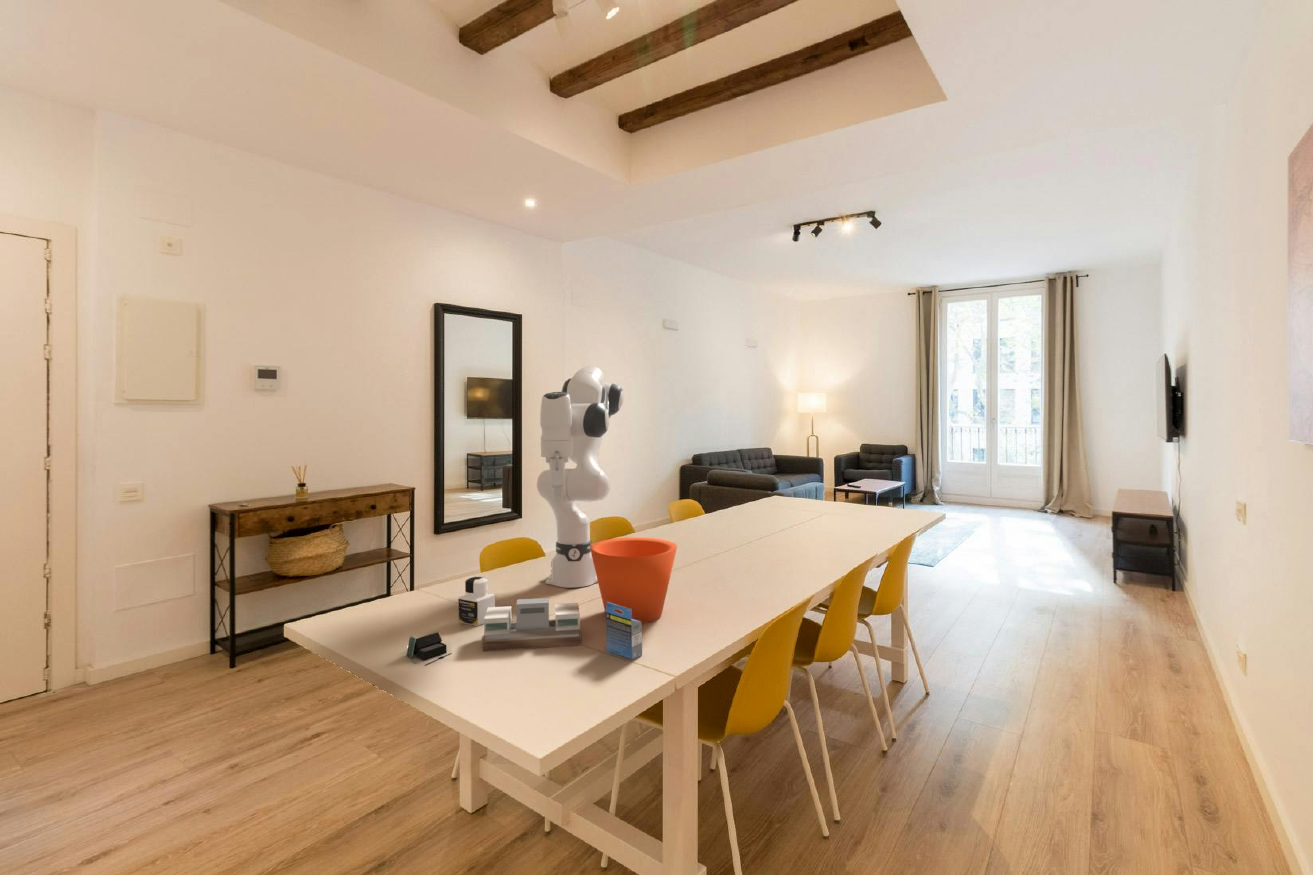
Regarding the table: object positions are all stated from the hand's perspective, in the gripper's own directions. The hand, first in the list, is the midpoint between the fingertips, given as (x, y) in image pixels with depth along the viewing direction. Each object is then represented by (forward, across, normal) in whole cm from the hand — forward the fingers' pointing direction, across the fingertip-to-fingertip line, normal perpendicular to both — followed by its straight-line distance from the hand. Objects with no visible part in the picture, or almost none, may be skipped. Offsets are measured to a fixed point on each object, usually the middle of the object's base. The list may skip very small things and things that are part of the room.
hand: (557, 499), depth 174 cm
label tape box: (+34, -29, -15) cm, 47 cm away
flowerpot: (+34, -1, -21) cm, 40 cm away
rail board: (+33, -16, +7) cm, 38 cm away
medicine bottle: (+34, +1, +23) cm, 41 cm away
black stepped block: (+34, -22, +31) cm, 51 cm away
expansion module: (+31, -17, +7) cm, 36 cm away
